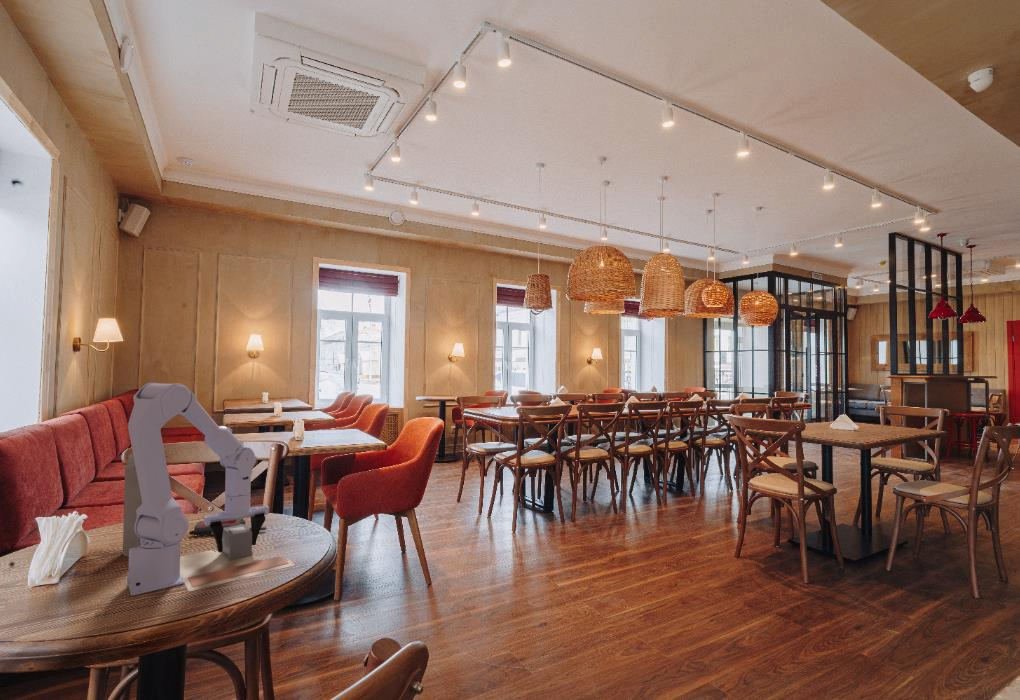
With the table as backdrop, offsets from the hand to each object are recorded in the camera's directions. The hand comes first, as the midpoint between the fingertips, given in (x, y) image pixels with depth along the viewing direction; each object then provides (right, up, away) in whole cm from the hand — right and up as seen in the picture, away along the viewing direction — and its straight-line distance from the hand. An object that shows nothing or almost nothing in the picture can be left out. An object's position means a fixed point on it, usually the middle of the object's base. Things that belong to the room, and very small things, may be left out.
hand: (236, 547), depth 129 cm
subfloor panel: (+2, -2, -5) cm, 6 cm away
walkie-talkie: (-11, -3, +17) cm, 21 cm away
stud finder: (0, -2, 0) cm, 2 cm away
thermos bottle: (-25, -2, +2) cm, 26 cm away
